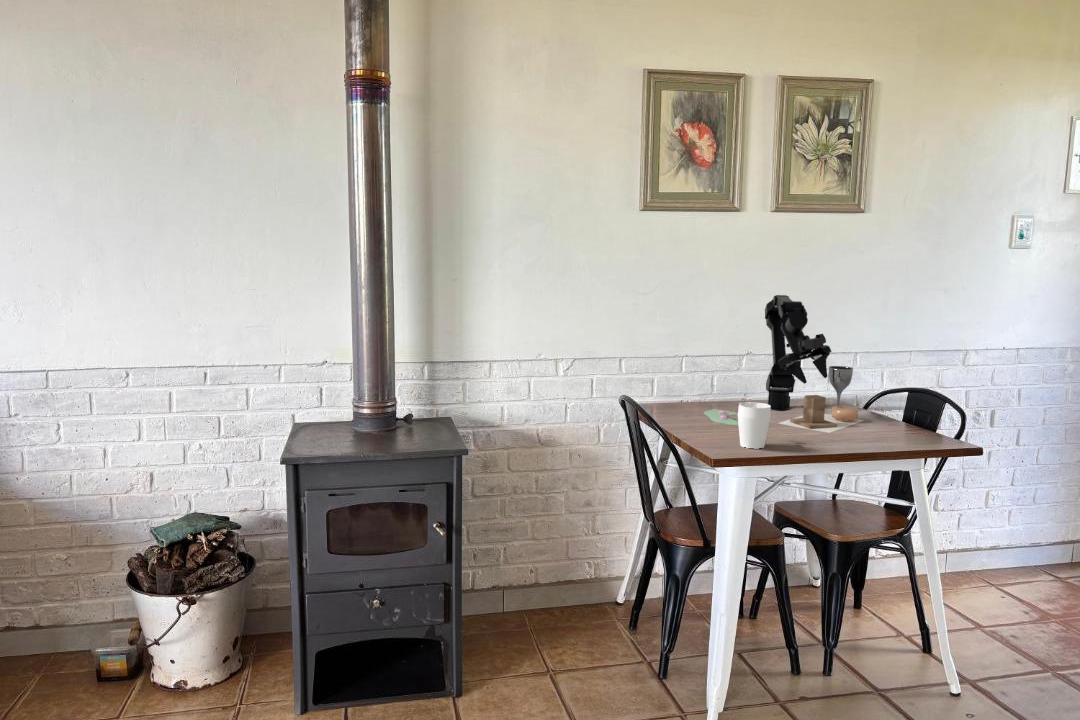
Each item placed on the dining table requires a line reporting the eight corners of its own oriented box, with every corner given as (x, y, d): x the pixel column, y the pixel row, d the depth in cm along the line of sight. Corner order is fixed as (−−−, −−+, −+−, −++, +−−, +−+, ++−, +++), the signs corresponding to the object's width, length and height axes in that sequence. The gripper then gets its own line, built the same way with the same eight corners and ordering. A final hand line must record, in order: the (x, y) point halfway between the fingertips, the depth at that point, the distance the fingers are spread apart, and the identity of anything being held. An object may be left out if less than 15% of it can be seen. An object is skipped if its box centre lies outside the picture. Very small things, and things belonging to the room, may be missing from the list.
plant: (683, 414, 270) (685, 388, 269) (727, 409, 281) (728, 383, 280) (739, 430, 249) (741, 401, 248) (783, 423, 260) (785, 396, 259)
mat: (777, 426, 253) (777, 423, 253) (814, 414, 272) (814, 411, 271) (829, 435, 241) (829, 432, 241) (864, 423, 260) (864, 420, 260)
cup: (731, 442, 231) (733, 401, 229) (761, 442, 232) (764, 401, 230) (742, 450, 222) (744, 408, 220) (773, 450, 223) (776, 408, 221)
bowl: (827, 419, 259) (827, 407, 259) (837, 416, 265) (838, 404, 264) (851, 424, 254) (852, 411, 253) (861, 420, 259) (862, 408, 259)
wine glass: (853, 412, 277) (856, 369, 275) (830, 411, 277) (833, 369, 275) (845, 407, 285) (848, 366, 283) (822, 407, 285) (825, 365, 283)
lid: (789, 421, 255) (791, 394, 254) (815, 420, 258) (817, 392, 257) (810, 429, 246) (812, 400, 244) (836, 427, 249) (838, 398, 248)
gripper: (789, 331, 251) (811, 376, 246) (831, 321, 259) (853, 365, 255) (768, 346, 260) (788, 389, 256) (809, 336, 268) (830, 378, 264)
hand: (815, 380), depth 257 cm, fingers open, 9 cm apart
